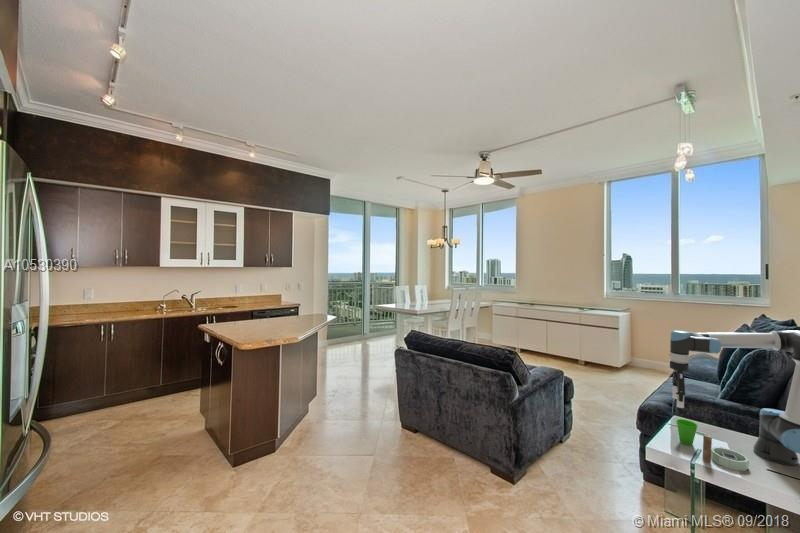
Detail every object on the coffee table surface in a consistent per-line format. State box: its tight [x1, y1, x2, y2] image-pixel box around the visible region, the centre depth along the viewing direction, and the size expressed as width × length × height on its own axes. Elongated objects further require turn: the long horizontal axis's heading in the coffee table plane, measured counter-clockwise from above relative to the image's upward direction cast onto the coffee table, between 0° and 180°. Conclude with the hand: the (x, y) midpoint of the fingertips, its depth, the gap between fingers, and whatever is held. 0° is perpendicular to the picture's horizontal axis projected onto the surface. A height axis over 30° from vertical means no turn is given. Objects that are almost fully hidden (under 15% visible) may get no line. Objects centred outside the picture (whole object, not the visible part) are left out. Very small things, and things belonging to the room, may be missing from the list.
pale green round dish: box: [711, 446, 750, 471], centre depth 166 cm, size 13×13×4 cm
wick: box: [702, 433, 713, 464], centre depth 167 cm, size 2×2×12 cm
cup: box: [675, 418, 699, 446], centre depth 183 cm, size 9×9×11 cm
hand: (677, 403), depth 177 cm, fingers open, 13 cm apart
